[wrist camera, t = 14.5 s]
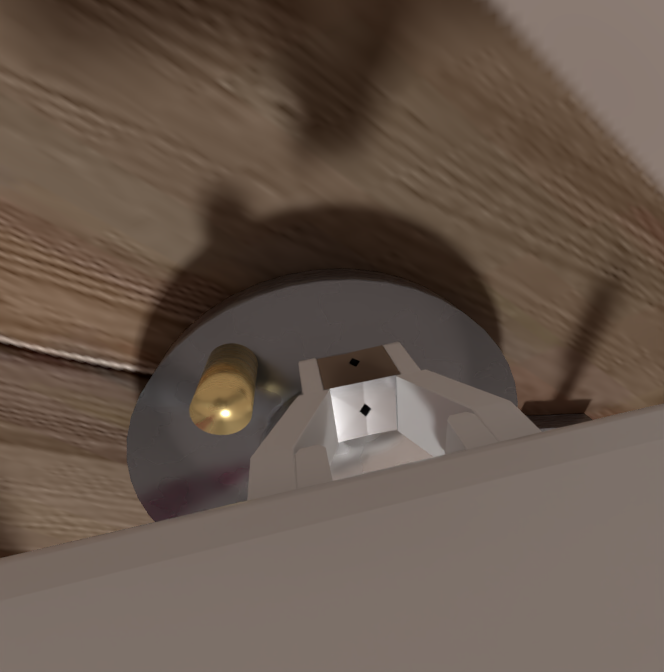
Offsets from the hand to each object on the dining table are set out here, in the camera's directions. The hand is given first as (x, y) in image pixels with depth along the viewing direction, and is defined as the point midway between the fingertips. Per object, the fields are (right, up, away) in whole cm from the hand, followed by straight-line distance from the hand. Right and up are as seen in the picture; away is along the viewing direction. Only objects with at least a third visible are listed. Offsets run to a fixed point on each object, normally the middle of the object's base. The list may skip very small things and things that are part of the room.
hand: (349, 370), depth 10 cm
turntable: (-1, -5, +10) cm, 11 cm away
